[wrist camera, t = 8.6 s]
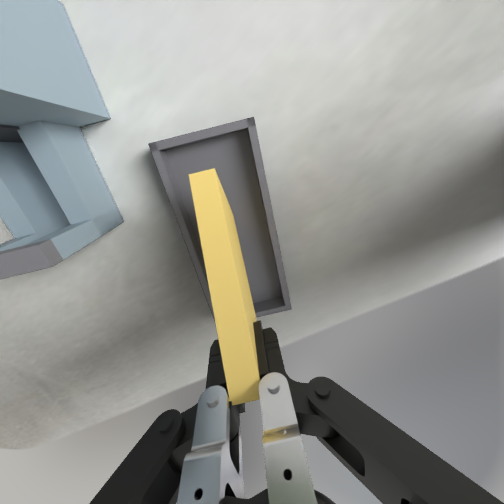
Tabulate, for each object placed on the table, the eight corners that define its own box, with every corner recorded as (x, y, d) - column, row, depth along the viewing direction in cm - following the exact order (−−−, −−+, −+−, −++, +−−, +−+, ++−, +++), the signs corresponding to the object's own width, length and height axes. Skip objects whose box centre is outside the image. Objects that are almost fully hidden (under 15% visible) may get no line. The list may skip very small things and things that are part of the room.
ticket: (233, 214, 18) (214, 167, 12) (265, 360, 16) (263, 398, 10) (216, 218, 18) (188, 174, 12) (245, 365, 16) (230, 405, 10)
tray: (251, 120, 17) (253, 116, 15) (286, 295, 23) (291, 309, 21) (158, 144, 17) (148, 143, 15) (218, 311, 23) (216, 326, 21)
